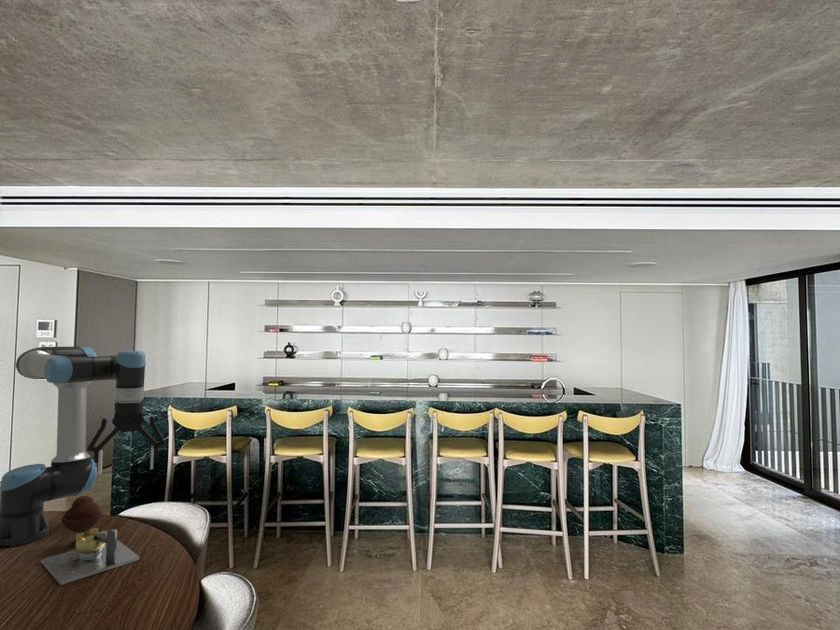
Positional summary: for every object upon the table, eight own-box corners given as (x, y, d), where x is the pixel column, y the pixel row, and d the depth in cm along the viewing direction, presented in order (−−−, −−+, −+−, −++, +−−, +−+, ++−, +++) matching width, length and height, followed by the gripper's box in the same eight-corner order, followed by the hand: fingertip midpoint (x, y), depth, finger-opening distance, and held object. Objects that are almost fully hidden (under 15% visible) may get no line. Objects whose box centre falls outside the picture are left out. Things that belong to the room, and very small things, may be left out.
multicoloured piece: (68, 559, 144) (70, 527, 145) (96, 549, 151) (97, 518, 152) (99, 570, 138) (101, 536, 138) (126, 558, 145) (128, 526, 146)
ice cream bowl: (51, 548, 154) (54, 501, 155) (83, 534, 165) (85, 490, 166) (78, 552, 152) (80, 504, 152) (108, 538, 163) (110, 493, 163)
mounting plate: (41, 562, 145) (42, 549, 145) (115, 541, 160) (116, 529, 160) (60, 585, 132) (61, 570, 132) (139, 559, 147) (139, 546, 148)
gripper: (78, 405, 138) (74, 479, 137) (175, 401, 150) (172, 469, 149) (82, 401, 145) (78, 472, 144) (174, 397, 157) (171, 463, 156)
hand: (126, 470), depth 147 cm, fingers open, 13 cm apart
